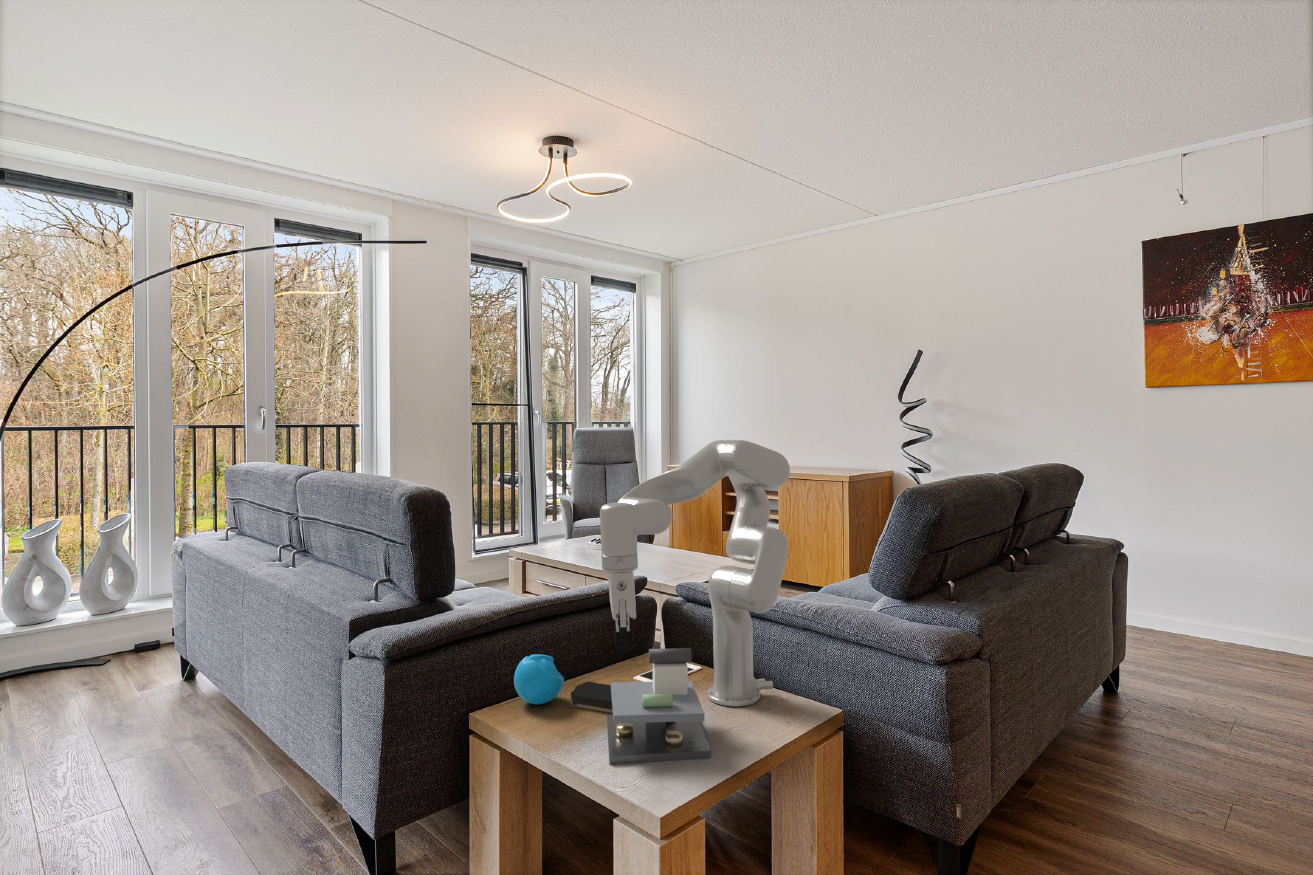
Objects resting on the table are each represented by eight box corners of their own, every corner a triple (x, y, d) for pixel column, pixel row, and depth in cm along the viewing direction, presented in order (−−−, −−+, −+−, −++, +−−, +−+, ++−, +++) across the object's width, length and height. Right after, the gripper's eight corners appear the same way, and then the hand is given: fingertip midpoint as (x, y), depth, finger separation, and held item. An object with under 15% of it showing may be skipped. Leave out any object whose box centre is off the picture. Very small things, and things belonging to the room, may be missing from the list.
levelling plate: (690, 692, 153) (691, 640, 153) (704, 726, 135) (705, 667, 135) (610, 694, 151) (611, 642, 151) (613, 729, 133) (614, 669, 133)
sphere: (571, 705, 162) (570, 656, 162) (526, 716, 156) (525, 666, 155) (550, 689, 172) (549, 643, 172) (506, 700, 166) (506, 652, 165)
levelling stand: (695, 716, 154) (694, 692, 154) (710, 757, 134) (710, 731, 134) (606, 721, 152) (606, 697, 152) (609, 764, 132) (608, 737, 132)
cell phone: (702, 670, 185) (702, 666, 185) (656, 689, 172) (656, 685, 172) (678, 663, 191) (678, 660, 191) (632, 680, 178) (632, 677, 178)
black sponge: (643, 704, 162) (642, 689, 162) (626, 718, 154) (626, 702, 154) (584, 694, 169) (584, 680, 169) (565, 707, 162) (565, 691, 162)
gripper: (640, 568, 136) (644, 659, 136) (635, 554, 150) (638, 636, 151) (602, 570, 135) (606, 662, 135) (601, 556, 150) (604, 638, 150)
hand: (623, 648), depth 143 cm, fingers closed
